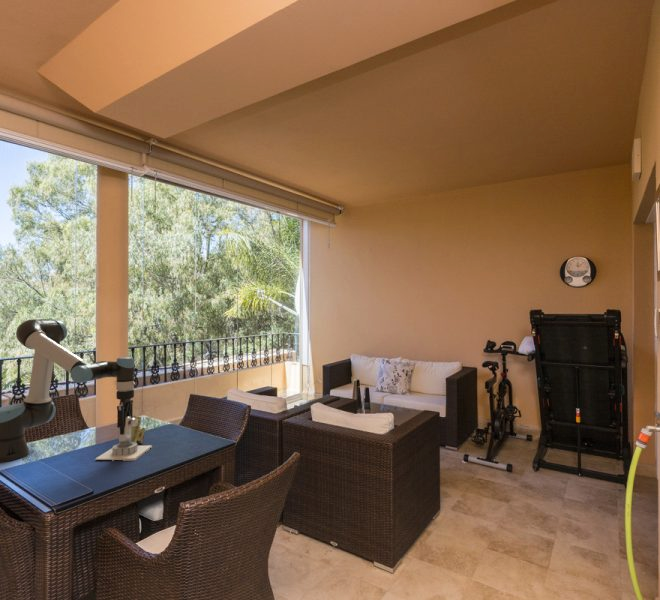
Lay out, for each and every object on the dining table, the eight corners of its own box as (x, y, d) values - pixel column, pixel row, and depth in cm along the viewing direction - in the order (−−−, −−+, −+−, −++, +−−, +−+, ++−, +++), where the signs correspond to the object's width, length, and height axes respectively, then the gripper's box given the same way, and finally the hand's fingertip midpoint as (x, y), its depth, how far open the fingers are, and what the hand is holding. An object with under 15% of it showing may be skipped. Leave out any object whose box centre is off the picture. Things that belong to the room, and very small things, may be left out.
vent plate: (95, 460, 186) (95, 452, 186) (116, 447, 204) (116, 439, 204) (134, 460, 186) (134, 451, 186) (152, 447, 204) (152, 439, 204)
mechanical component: (144, 455, 213) (153, 415, 222) (127, 452, 198) (136, 409, 206) (130, 454, 214) (139, 415, 223) (111, 451, 198) (122, 409, 207)
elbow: (117, 444, 192) (117, 418, 193) (121, 441, 197) (121, 416, 198) (134, 443, 193) (134, 418, 194) (138, 440, 198) (138, 415, 199)
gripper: (126, 393, 187) (126, 444, 187) (140, 386, 205) (139, 433, 205) (109, 393, 187) (108, 445, 186) (124, 386, 204) (124, 433, 204)
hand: (125, 439), depth 195 cm, fingers closed on elbow, 5 cm apart
